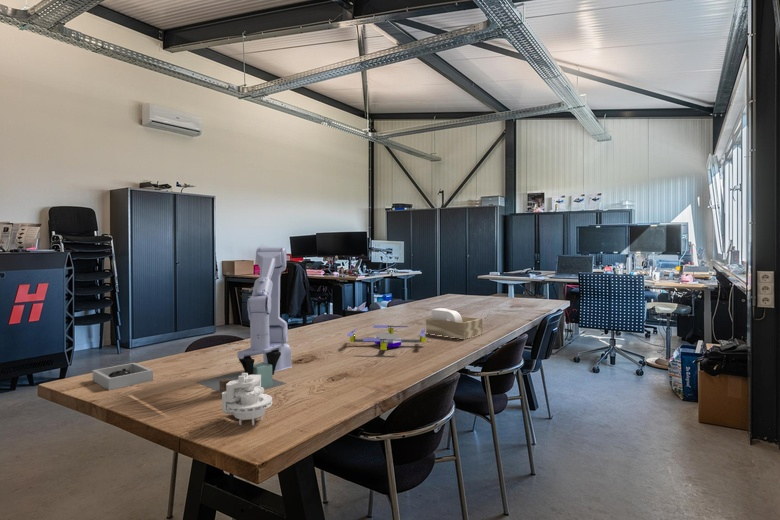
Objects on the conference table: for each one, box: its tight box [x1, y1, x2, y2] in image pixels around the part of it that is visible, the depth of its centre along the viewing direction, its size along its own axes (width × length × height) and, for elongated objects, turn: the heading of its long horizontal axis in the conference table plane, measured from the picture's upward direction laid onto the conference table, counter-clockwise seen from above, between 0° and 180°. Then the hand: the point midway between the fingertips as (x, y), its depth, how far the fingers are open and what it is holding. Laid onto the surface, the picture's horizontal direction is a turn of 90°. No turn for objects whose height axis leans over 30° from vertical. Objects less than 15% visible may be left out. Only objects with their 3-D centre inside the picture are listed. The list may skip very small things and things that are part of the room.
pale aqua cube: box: [253, 361, 273, 388], centre depth 140 cm, size 5×5×7 cm
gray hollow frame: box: [92, 362, 154, 391], centre depth 149 cm, size 13×16×4 cm
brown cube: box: [219, 379, 232, 392], centre depth 136 cm, size 3×3×3 cm
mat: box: [196, 370, 288, 394], centre depth 143 cm, size 18×24×1 cm
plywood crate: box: [425, 315, 483, 339], centre depth 222 cm, size 17×22×8 cm
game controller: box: [109, 369, 130, 378], centre depth 150 cm, size 10×5×6 cm
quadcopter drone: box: [347, 324, 427, 351], centre depth 198 cm, size 34×33×5 cm
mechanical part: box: [221, 373, 273, 426], centre depth 113 cm, size 11×12×12 cm
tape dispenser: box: [431, 307, 463, 323], centre depth 222 cm, size 16×10×13 cm, turn 40°
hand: (260, 377), depth 140 cm, fingers open, 7 cm apart
